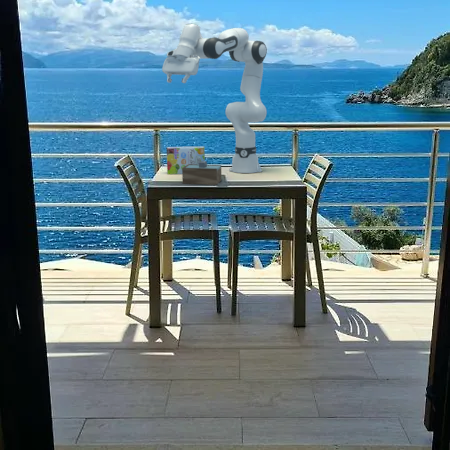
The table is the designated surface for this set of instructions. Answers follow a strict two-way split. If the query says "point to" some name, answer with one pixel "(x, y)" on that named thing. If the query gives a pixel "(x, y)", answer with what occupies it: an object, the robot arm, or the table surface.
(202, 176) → the walnut box
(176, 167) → the snack box
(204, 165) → the lid
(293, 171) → the table surface
